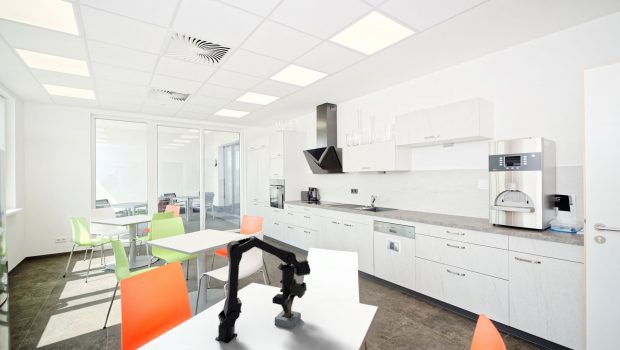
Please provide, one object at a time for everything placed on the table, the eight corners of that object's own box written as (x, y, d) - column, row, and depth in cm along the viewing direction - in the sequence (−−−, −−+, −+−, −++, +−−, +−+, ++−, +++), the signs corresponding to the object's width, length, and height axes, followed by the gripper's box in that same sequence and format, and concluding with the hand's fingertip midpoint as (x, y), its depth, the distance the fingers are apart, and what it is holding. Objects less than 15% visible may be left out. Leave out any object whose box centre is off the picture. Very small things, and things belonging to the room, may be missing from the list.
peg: (289, 318, 125) (289, 300, 125) (283, 316, 126) (283, 299, 126) (292, 314, 128) (292, 297, 128) (286, 313, 129) (286, 296, 129)
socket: (292, 329, 121) (292, 322, 121) (274, 324, 124) (274, 318, 124) (300, 319, 129) (300, 312, 129) (284, 315, 133) (284, 309, 133)
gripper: (294, 288, 115) (294, 325, 115) (311, 273, 132) (311, 306, 132) (271, 284, 119) (271, 319, 119) (291, 270, 137) (291, 301, 137)
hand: (287, 311), depth 127 cm, fingers closed on peg, 3 cm apart
